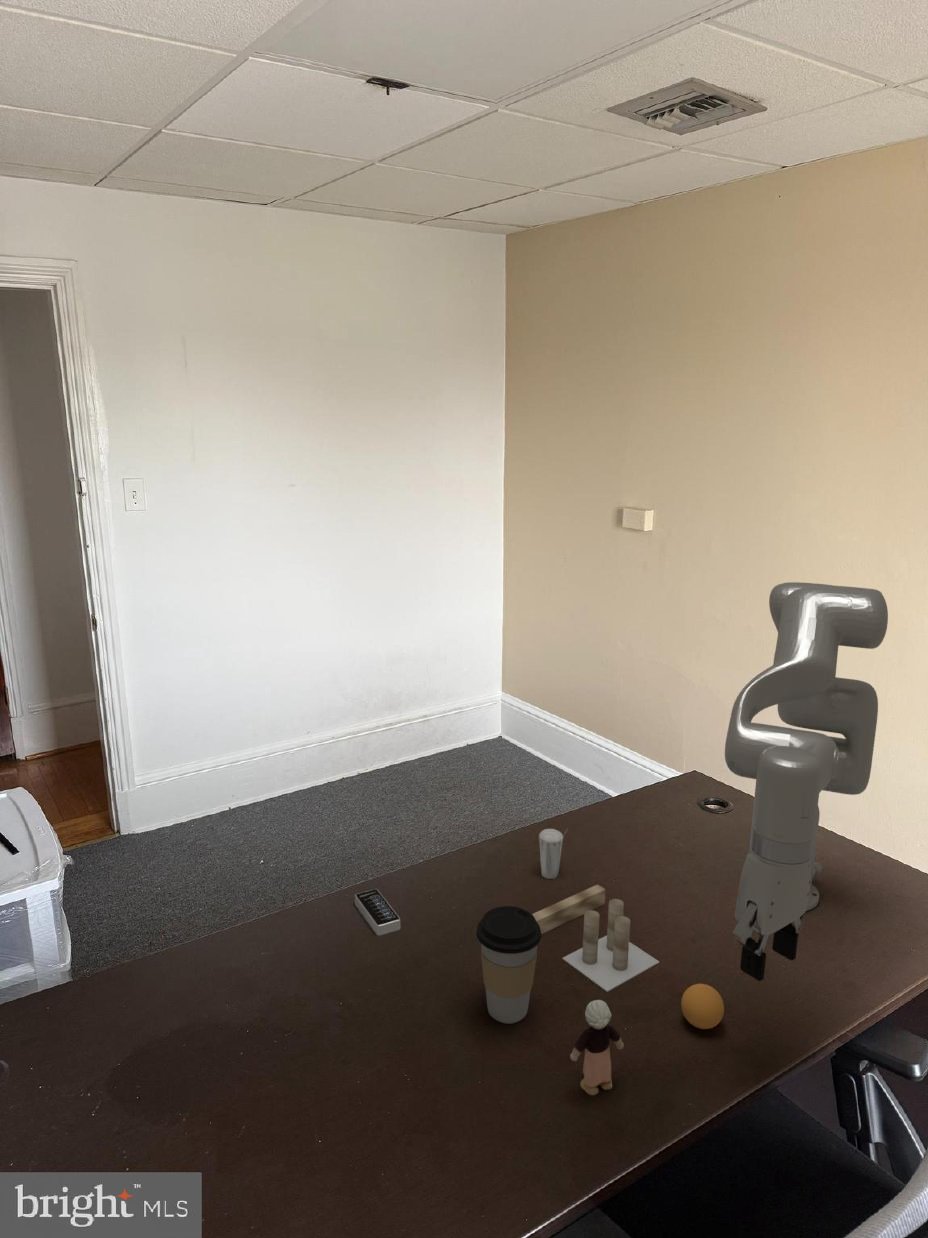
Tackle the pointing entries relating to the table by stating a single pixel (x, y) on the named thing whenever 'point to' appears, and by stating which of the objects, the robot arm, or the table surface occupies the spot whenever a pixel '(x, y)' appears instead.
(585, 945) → the left pin
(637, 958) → the pin deck mark
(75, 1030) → the table surface
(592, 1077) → the grandmother figurine
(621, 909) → the right pin
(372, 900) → the multiport hub
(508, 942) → the coffee cup
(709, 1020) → the ball
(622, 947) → the front pin
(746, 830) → the table surface
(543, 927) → the back rail
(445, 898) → the table surface
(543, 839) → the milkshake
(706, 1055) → the table surface
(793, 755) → the robot arm
